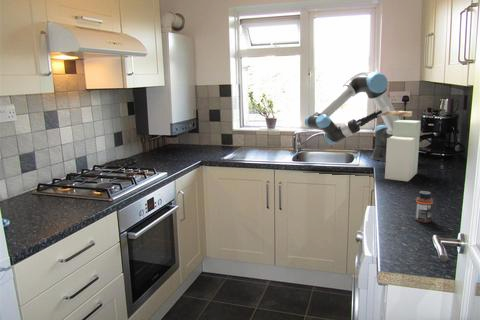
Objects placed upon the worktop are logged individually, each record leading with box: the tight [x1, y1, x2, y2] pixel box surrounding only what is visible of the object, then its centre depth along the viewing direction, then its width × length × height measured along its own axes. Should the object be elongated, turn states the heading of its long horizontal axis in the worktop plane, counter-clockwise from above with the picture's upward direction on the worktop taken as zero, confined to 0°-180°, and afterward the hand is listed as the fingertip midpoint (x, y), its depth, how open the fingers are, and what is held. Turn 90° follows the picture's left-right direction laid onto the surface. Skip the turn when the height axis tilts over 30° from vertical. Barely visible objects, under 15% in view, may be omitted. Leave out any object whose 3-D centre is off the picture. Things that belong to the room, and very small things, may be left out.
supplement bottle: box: [414, 190, 434, 224], centre depth 157 cm, size 6×6×11 cm
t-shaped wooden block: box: [373, 110, 413, 118], centre depth 220 cm, size 19×6×2 cm, turn 55°
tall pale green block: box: [384, 119, 421, 182], centre depth 226 cm, size 12×22×30 cm, turn 146°
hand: (388, 108), depth 221 cm, fingers closed on t-shaped wooden block, 2 cm apart
